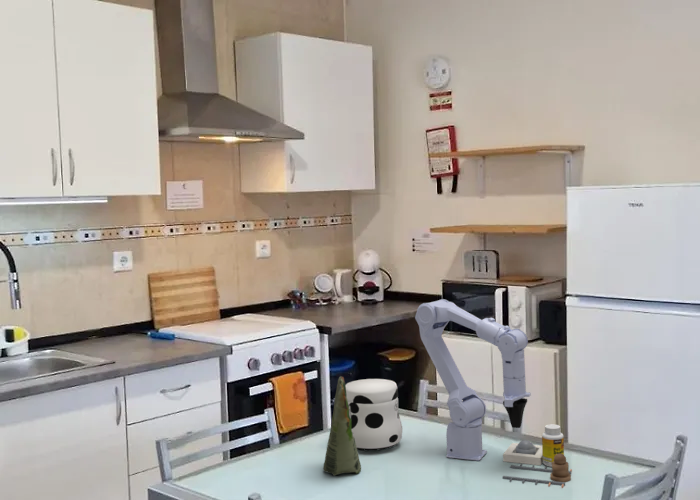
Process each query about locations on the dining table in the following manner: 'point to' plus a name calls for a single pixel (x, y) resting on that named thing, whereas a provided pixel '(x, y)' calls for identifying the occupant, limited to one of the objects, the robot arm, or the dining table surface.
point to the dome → (526, 447)
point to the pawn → (560, 469)
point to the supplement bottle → (552, 443)
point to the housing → (523, 456)
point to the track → (534, 479)
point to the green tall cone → (341, 437)
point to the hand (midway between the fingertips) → (516, 427)
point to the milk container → (374, 413)
